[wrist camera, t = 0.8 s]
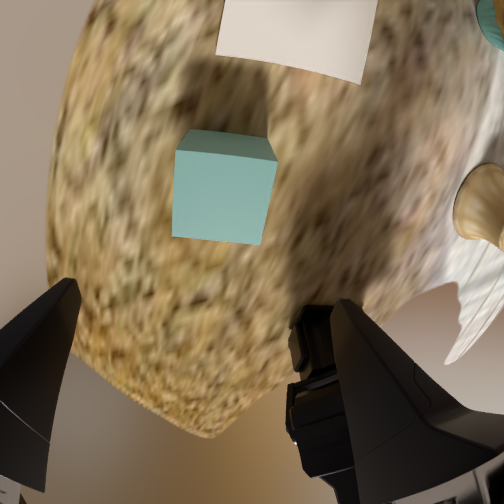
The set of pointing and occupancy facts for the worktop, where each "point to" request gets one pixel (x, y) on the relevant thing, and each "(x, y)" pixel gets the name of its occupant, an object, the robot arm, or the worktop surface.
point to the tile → (300, 34)
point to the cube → (222, 186)
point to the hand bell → (481, 206)
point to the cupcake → (492, 21)
